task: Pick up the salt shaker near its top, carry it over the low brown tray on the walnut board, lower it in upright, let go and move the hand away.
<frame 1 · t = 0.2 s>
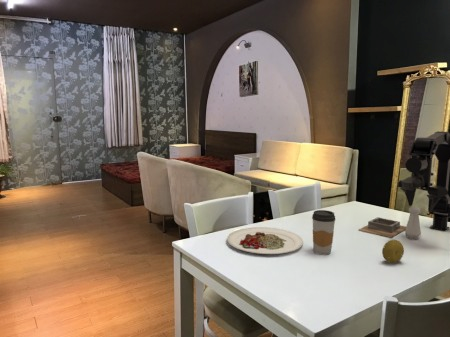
hand: (419, 208, 142), 14 cm above the table, tool pointing down, fingers open, 9 cm apart
brown tray: (383, 229, 160), on the table
plated food: (264, 243, 143), on the table
coffee cup: (322, 252, 133), on the table
ochre rounded piece: (392, 262, 124), on the table
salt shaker: (412, 238, 149), on the table
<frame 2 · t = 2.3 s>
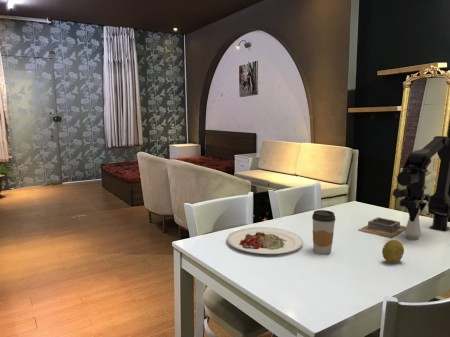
hand: (413, 220, 148), 8 cm above the table, tool pointing down, fingers closed on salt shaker, 4 cm apart
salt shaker: (412, 238, 149), on the table, touching gripper
everything else where it was.
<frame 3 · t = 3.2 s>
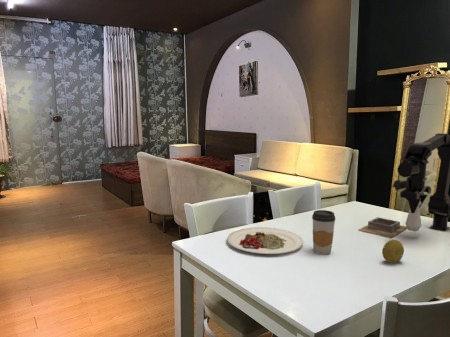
hand: (414, 212, 147), 11 cm above the table, tool pointing down, fingers closed on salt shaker, 4 cm apart
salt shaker: (412, 230, 148), point 3 cm above the table, touching gripper
everything else where it was.
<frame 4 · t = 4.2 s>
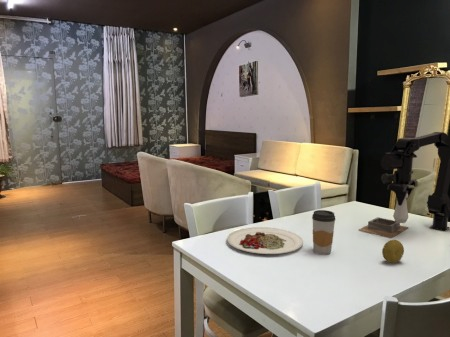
hand: (401, 204, 152), 13 cm above the table, tool pointing down, fingers closed on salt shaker, 4 cm apart
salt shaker: (400, 222, 153), point 5 cm above the table, touching gripper
everything else where it was.
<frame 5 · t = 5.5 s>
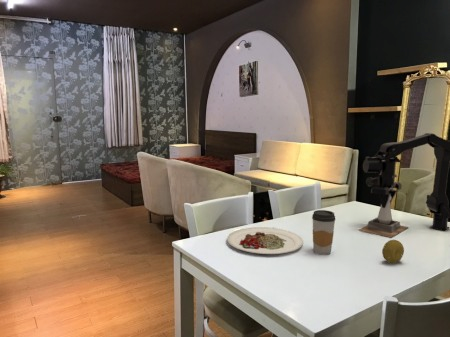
hand: (385, 206, 159), 10 cm above the table, tool pointing down, fingers closed on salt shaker, 4 cm apart
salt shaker: (384, 223, 160), point 3 cm above the table, touching gripper
everything else where it was.
when the fingers open (9 cm above the table, at t = 6.5 s): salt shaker stays where it is, resting on brown tray.
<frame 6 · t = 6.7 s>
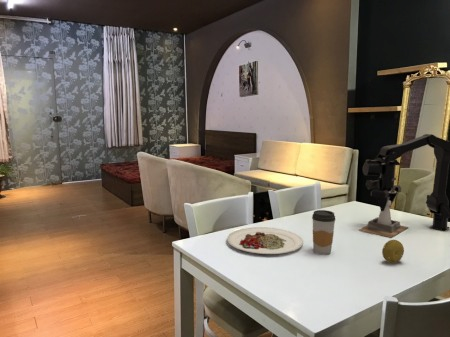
hand: (385, 209, 159), 9 cm above the table, tool pointing down, fingers open, 6 cm apart
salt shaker: (383, 228, 160), resting on brown tray
everything else where it was.
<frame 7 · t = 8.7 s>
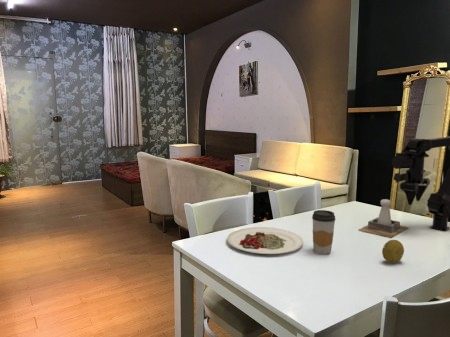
hand: (414, 202, 157), 13 cm above the table, tool pointing down, fingers open, 9 cm apart
nothing on the table moved.
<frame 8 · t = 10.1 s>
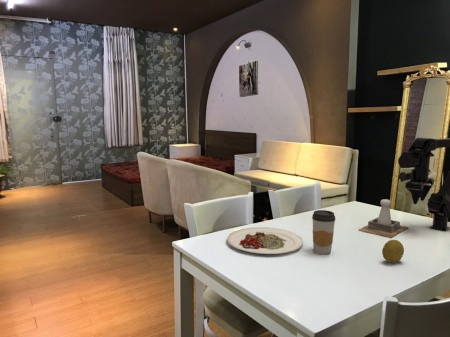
hand: (418, 202, 156), 13 cm above the table, tool pointing down, fingers open, 9 cm apart
nothing on the table moved.
at the end: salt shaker 0.1 cm off-centre on the brown tray, point 0.3 cm above the brown tray's base; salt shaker tilted 0°; the gripper is holding nothing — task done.
